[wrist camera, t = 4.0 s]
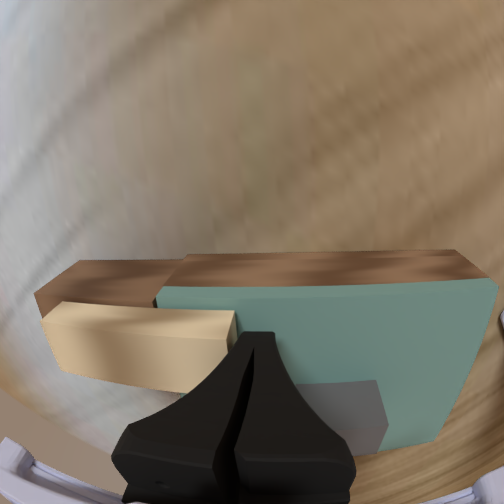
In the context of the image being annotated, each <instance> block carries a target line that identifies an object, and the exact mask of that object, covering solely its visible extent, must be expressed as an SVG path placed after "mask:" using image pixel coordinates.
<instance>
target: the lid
mask: <svg viewBox="0 0 504 504" xmlns="http://www.w3.org/2000/svg"><path fill="white" fill-rule="evenodd" d="M498 289H499V286H498V285H497V284H496V283H495V282H493V281H492V280H491V279H490V278H479V279H465V280H450V281H434V282H415V283H395V284H370V285H340V286H296V287H176V286H163V287H162V289H161V290H160V291H159V293H158V294H157V295H156V301H157V306H158V308H164V309H190V310H235V321H236V331H237V340H238V338H239V336H240V335H241V333H242V332H244V331H273V332H274V333H275V336H276V344H277V347H278V351H279V354H280V356H281V359H282V361H283V364H284V366H285V368H286V370H287V372H288V374H289V376H290V378H291V380H292V381H293V383H294V385H295V386H296V388H297V390H298V391H299V393H300V394H301V395H302V397H303V398H304V399H305V401H306V402H307V403H308V405H309V406H310V407H311V408H312V409H313V410H314V412H315V413H316V414H317V415H318V416H319V417H320V418H321V419H322V420H323V421H324V422H325V423H326V424H327V425H328V426H329V427H330V428H331V429H332V430H334V431H335V432H336V433H337V434H338V435H340V436H341V437H342V438H343V439H345V441H346V443H347V445H348V447H349V449H350V451H351V454H352V456H360V455H369V454H376V453H377V452H378V451H385V450H391V449H397V448H403V447H408V446H413V445H418V444H423V443H427V442H431V441H434V440H435V438H436V437H437V435H438V433H439V432H440V430H441V428H442V426H443V425H444V423H445V421H446V419H447V417H448V415H449V414H450V412H451V410H452V408H453V406H454V404H455V402H456V400H457V398H458V396H459V394H460V392H461V390H462V388H463V385H464V383H465V381H466V379H467V377H468V374H469V372H470V370H471V367H472V365H473V363H474V360H475V358H476V355H477V353H478V350H479V348H480V345H481V342H482V340H483V337H484V334H485V331H486V328H487V325H488V322H489V319H490V316H491V313H492V310H493V306H494V303H495V299H496V296H497V292H498ZM186 394H187V393H180V396H181V398H182V397H183V396H184V395H186Z"/></svg>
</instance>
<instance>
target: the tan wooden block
mask: <svg viewBox="0 0 504 504" xmlns="http://www.w3.org/2000/svg"><path fill="white" fill-rule="evenodd" d="M40 323H41V325H42V328H43V330H44V333H45V335H46V338H47V340H48V342H49V345H50V347H51V349H52V352H53V354H54V356H55V358H56V360H57V363H58V365H59V367H60V369H61V371H65V372H69V373H73V374H77V375H81V376H85V377H90V378H94V379H99V380H104V381H109V382H114V383H119V384H125V385H130V386H136V387H143V388H149V389H156V390H163V391H171V392H179V393H188V392H190V391H191V390H192V389H194V388H195V387H196V386H197V385H198V384H199V383H201V382H202V381H203V380H204V379H205V378H206V377H207V376H208V375H209V374H210V373H211V372H212V371H213V370H214V369H215V368H216V366H217V365H218V364H219V363H220V362H221V361H222V360H223V358H224V357H225V356H226V355H227V353H228V352H229V351H230V349H231V348H232V347H233V345H234V344H235V342H236V341H237V331H236V321H235V310H190V309H164V308H144V307H127V306H112V305H98V304H86V303H74V302H64V301H62V302H61V303H60V304H59V305H57V306H56V307H55V308H54V309H53V310H52V311H51V312H49V313H48V314H47V315H46V316H45V317H44V318H43V319H42V320H40Z"/></svg>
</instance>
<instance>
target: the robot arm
mask: <svg viewBox="0 0 504 504" xmlns="http://www.w3.org/2000/svg"><path fill="white" fill-rule="evenodd" d="M500 319H501V322H502V325H503V328H504V311H503V312H502V314H501V316H500ZM111 459H112V462H113V464H114V465H115V467H116V469H117V470H118V471H119V473H120V474H121V475H122V476H123V478H124V479H125V480H126V481H127V483H128V485H127V488H126V490H125V493H124V495H123V496H122V495H119V494H116V493H113V492H110V491H107V490H104V489H101V488H99V487H96V486H93V485H90V484H88V483H86V482H83V481H81V480H78V479H75V478H73V477H71V476H69V475H66V474H64V473H62V472H60V471H58V470H55V469H53V468H51V467H49V466H47V465H45V464H43V463H41V462H39V461H37V460H35V459H34V457H33V456H32V455H31V453H30V452H29V451H28V450H27V449H25V448H24V447H23V446H22V445H20V444H18V443H16V442H15V441H13V440H11V439H9V438H8V437H5V438H4V440H3V441H2V443H1V444H0V493H1V494H2V495H3V496H4V497H6V498H7V499H8V500H9V501H10V502H11V503H13V504H348V503H349V502H350V493H349V489H350V487H351V485H352V483H353V481H354V479H355V477H356V466H355V463H354V459H353V456H352V454H351V451H350V449H349V447H348V445H347V443H346V441H345V439H343V438H342V437H341V436H340V435H338V434H337V433H336V432H335V431H334V430H332V429H331V428H330V427H329V426H328V425H327V424H326V423H325V422H324V421H323V420H322V419H321V418H320V417H319V416H318V415H317V414H316V413H315V412H314V410H313V409H312V408H311V407H310V406H309V405H308V403H307V402H306V401H305V399H304V398H303V397H302V395H301V394H300V393H299V391H298V390H297V388H296V386H295V385H294V383H293V381H292V380H291V378H290V376H289V374H288V372H287V370H286V368H285V366H284V364H283V361H282V359H281V356H280V354H279V351H278V347H277V344H276V336H275V333H274V332H273V331H244V332H242V333H241V335H240V336H239V338H238V340H237V341H236V342H235V344H234V345H233V347H232V348H231V349H230V351H229V352H228V353H227V355H226V356H225V357H224V358H223V360H222V361H221V362H220V363H219V364H218V365H217V366H216V368H215V369H214V370H213V371H212V372H211V373H210V374H209V375H208V376H207V377H206V378H205V379H204V380H203V381H202V382H201V383H199V384H198V385H197V386H196V387H195V388H194V389H192V390H191V391H190V392H188V393H187V394H186V395H184V396H183V397H182V398H180V399H179V400H177V401H176V402H174V403H173V404H171V405H169V406H168V407H166V408H164V409H162V410H161V411H159V412H157V413H155V414H153V415H151V416H148V417H146V418H144V419H141V420H139V421H136V422H134V423H131V424H128V426H127V428H126V429H125V430H124V432H123V433H122V435H121V437H120V439H119V441H118V443H117V445H116V447H115V449H114V451H113V453H112V455H111ZM419 504H504V466H502V467H499V468H497V469H495V470H493V471H490V472H488V473H486V474H484V475H483V476H481V477H480V478H479V479H478V480H477V481H476V482H475V483H474V484H473V486H472V487H469V488H466V489H464V490H461V491H458V492H455V493H452V494H449V495H446V496H443V497H440V498H436V499H433V500H430V501H426V502H422V503H419Z"/></svg>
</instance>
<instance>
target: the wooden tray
mask: <svg viewBox="0 0 504 504" xmlns="http://www.w3.org/2000/svg"><path fill="white" fill-rule="evenodd" d="M479 278H489V277H488V276H487V275H486V274H485V273H483V272H482V271H481V270H480V269H479V268H477V267H476V266H475V265H474V264H472V263H471V262H470V261H469V260H467V259H466V258H465V257H464V256H462V255H461V254H460V253H458V252H457V251H456V250H415V251H361V252H306V253H248V254H189V255H187V256H186V257H185V258H184V259H182V260H79V261H78V262H76V263H75V264H74V265H72V266H71V267H69V268H68V269H67V270H65V271H64V272H62V273H61V274H59V275H58V276H57V277H55V278H54V279H53V280H51V281H50V282H48V283H47V284H46V285H44V286H43V287H42V288H40V289H39V290H38V291H36V292H35V293H34V296H35V299H36V302H37V304H38V307H39V310H40V313H41V316H42V318H44V317H45V316H46V315H47V314H48V313H49V312H51V311H52V310H53V309H54V308H55V307H56V306H57V305H59V304H60V303H61V302H62V301H64V302H74V303H86V304H98V305H112V306H127V307H144V308H158V306H157V301H156V295H157V294H158V293H159V291H160V290H161V289H162V287H163V286H176V287H296V286H340V285H370V284H395V283H415V282H434V281H450V280H465V279H479Z"/></svg>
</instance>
